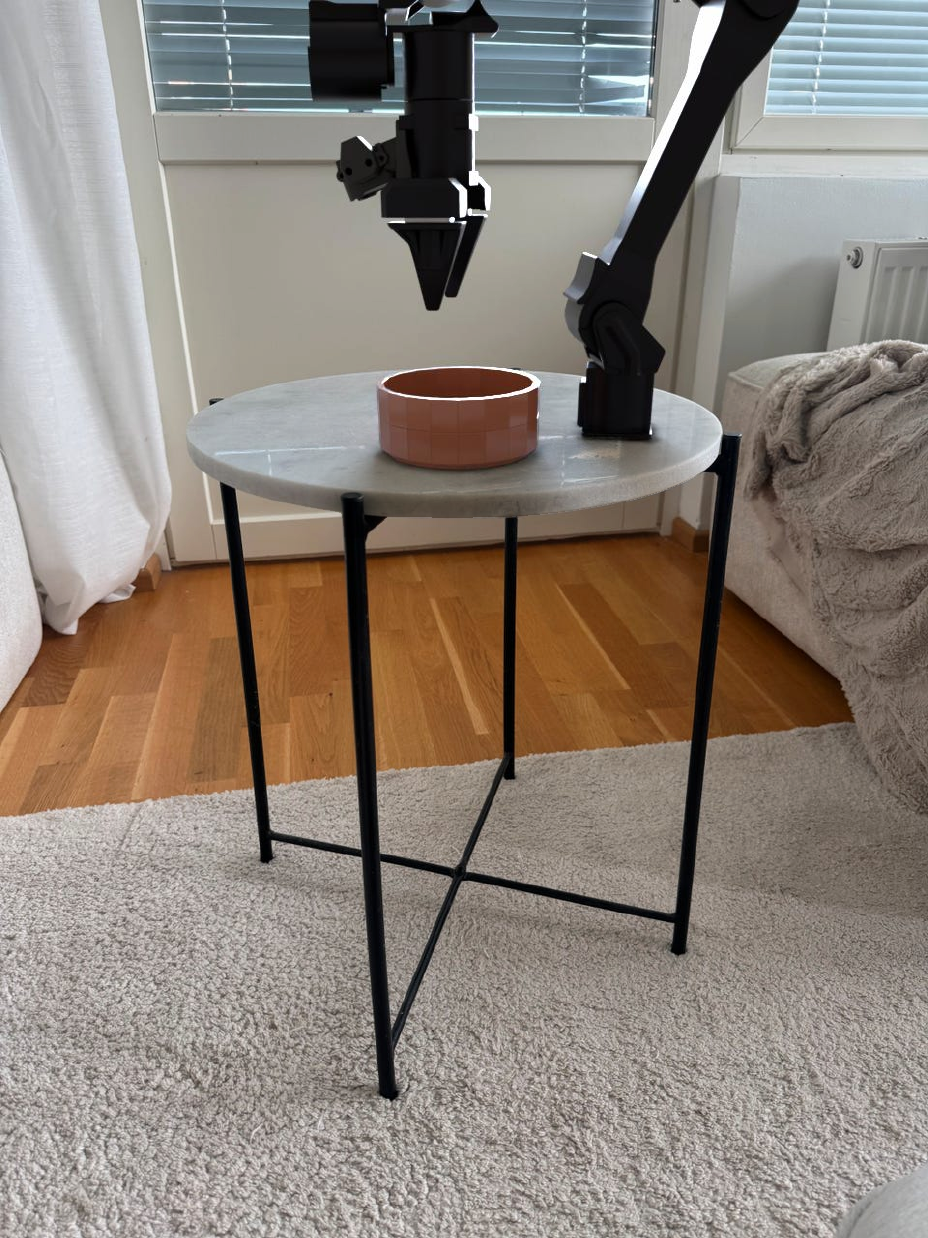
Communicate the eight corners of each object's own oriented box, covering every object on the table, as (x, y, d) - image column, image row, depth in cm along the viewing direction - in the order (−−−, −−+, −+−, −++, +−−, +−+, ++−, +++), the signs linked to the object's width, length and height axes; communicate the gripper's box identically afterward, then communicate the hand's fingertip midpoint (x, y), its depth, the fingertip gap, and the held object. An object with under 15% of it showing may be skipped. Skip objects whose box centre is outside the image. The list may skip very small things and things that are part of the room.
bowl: (543, 431, 88) (545, 367, 85) (530, 475, 75) (532, 402, 73) (399, 426, 90) (396, 364, 87) (362, 468, 77) (358, 397, 75)
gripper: (370, 110, 84) (378, 290, 91) (308, 95, 67) (324, 317, 74) (491, 108, 82) (490, 291, 89) (457, 92, 66) (459, 319, 72)
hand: (442, 303), depth 81 cm, fingers open, 9 cm apart
